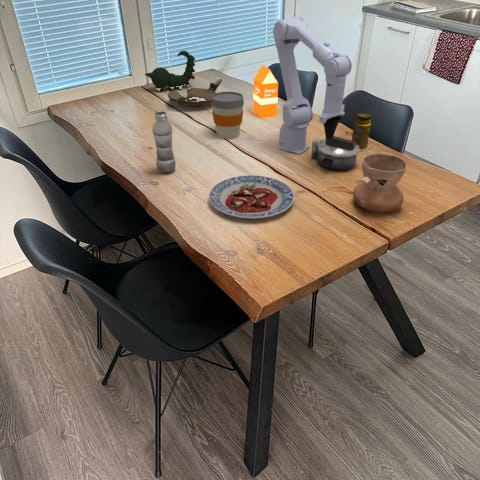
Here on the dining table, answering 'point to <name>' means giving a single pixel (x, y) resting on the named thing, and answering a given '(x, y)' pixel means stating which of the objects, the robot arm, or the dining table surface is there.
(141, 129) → the dining table surface
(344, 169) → the cooker body
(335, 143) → the cooker lid
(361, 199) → the brown clay hourglass vessel
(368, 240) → the dining table surface
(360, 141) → the condiment
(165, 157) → the plastic bottle
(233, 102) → the reusable coffee cup
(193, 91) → the oil lamp
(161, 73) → the toy figurine
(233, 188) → the ceramic plate
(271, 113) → the orange juice
